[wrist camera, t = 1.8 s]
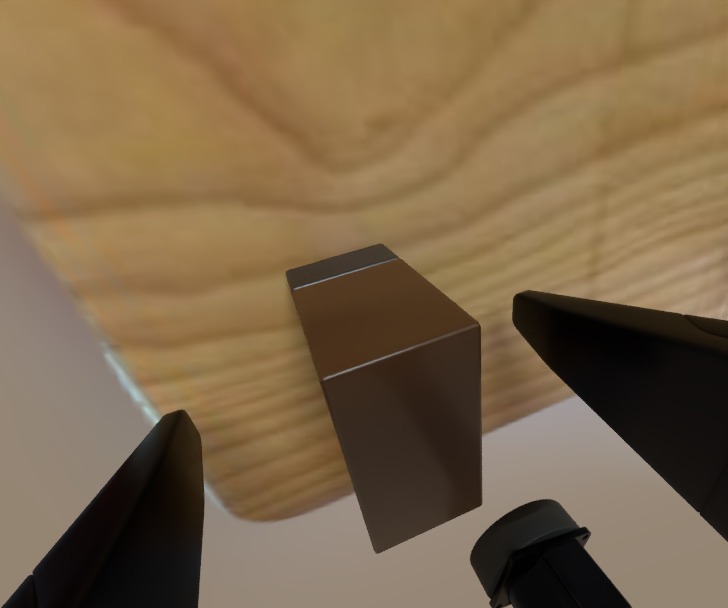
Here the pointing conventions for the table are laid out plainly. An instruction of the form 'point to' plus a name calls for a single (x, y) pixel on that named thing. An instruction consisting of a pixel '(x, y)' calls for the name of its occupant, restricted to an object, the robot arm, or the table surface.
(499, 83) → the table surface
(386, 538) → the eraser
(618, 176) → the table surface
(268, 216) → the table surface
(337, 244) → the table surface
